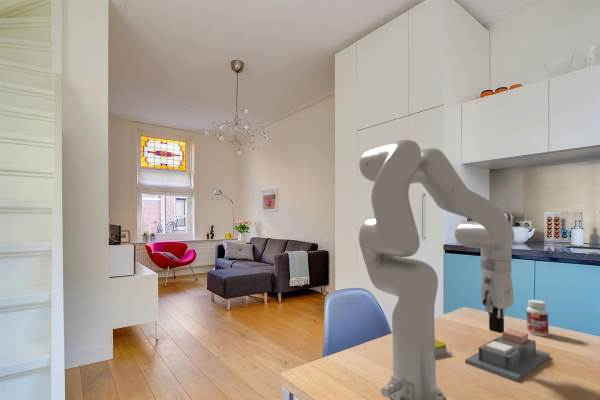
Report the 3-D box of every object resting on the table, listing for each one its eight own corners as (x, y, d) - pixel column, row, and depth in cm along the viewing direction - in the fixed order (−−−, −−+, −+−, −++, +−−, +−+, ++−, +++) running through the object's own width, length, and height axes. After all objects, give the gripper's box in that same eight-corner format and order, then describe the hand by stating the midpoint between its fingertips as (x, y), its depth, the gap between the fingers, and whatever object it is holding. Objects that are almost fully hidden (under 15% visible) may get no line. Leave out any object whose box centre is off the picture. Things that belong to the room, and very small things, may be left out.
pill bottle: (530, 335, 111) (529, 302, 112) (524, 329, 117) (523, 298, 117) (551, 337, 109) (550, 304, 110) (545, 331, 115) (543, 300, 115)
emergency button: (394, 336, 101) (430, 329, 106) (394, 350, 100) (431, 343, 106) (414, 347, 92) (453, 339, 97) (415, 362, 92) (453, 354, 97)
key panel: (517, 381, 80) (516, 363, 80) (465, 362, 90) (464, 346, 91) (549, 356, 94) (548, 341, 94) (501, 343, 104) (501, 329, 105)
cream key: (505, 363, 85) (505, 351, 86) (486, 356, 90) (485, 345, 90) (513, 358, 88) (513, 346, 89) (494, 352, 92) (493, 341, 93)
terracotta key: (521, 348, 92) (521, 337, 92) (502, 342, 96) (502, 332, 96) (528, 344, 95) (527, 333, 95) (509, 339, 99) (509, 328, 99)
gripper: (498, 269, 83) (499, 340, 82) (521, 266, 92) (522, 330, 90) (469, 265, 89) (469, 332, 88) (493, 263, 98) (494, 323, 96)
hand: (496, 331), depth 89 cm, fingers closed
